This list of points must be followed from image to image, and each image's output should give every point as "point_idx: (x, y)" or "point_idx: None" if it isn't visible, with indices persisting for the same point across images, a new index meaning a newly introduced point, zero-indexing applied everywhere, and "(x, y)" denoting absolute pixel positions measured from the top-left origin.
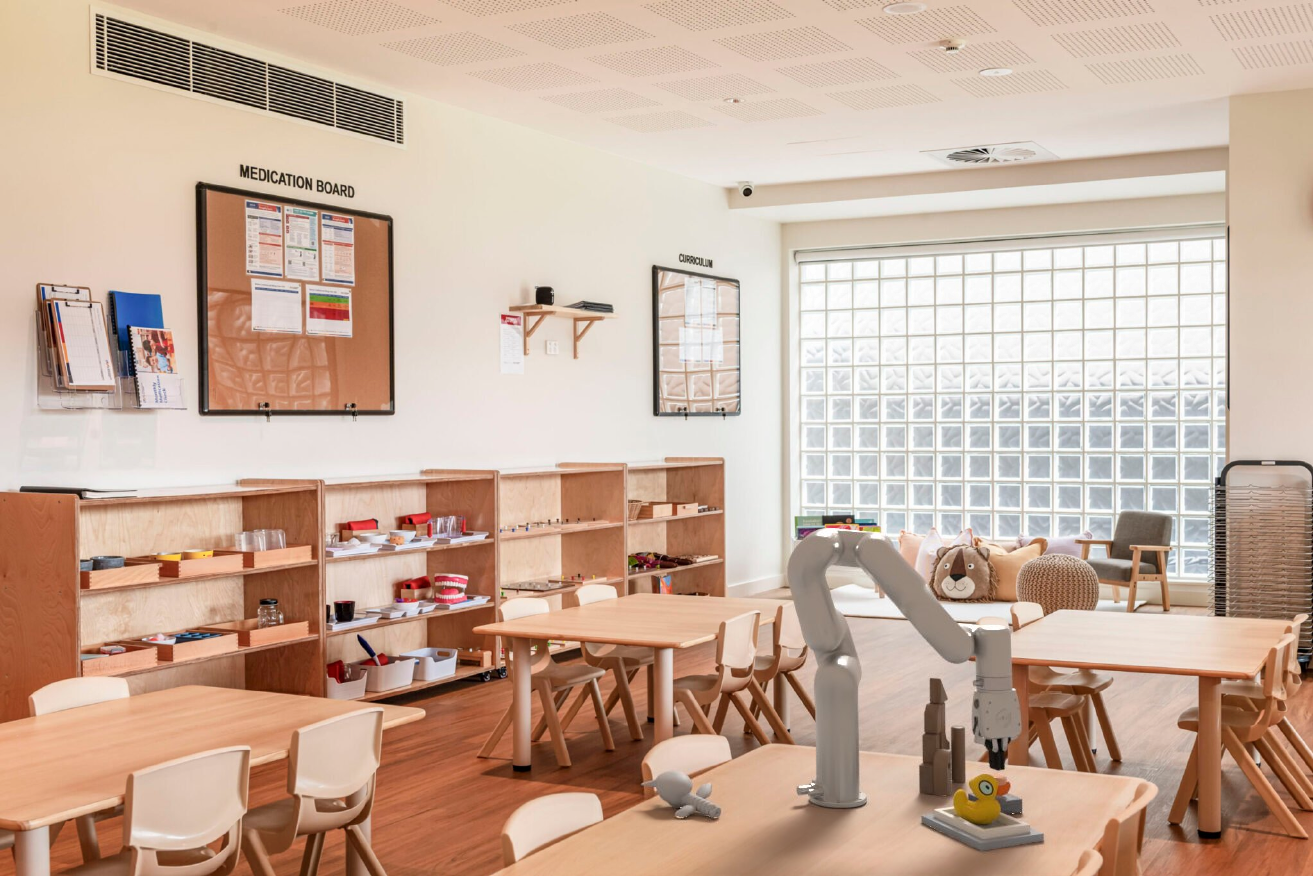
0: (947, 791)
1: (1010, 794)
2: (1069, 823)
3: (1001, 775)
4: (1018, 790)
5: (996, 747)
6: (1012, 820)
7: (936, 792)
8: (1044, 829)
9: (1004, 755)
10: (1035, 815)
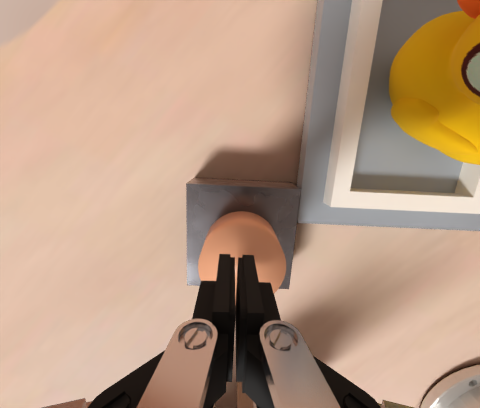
0: None
1: (188, 234)
2: (136, 38)
3: (203, 275)
4: (83, 322)
5: (269, 353)
6: (380, 4)
7: None
8: (240, 26)
9: (196, 307)
10: (175, 146)
